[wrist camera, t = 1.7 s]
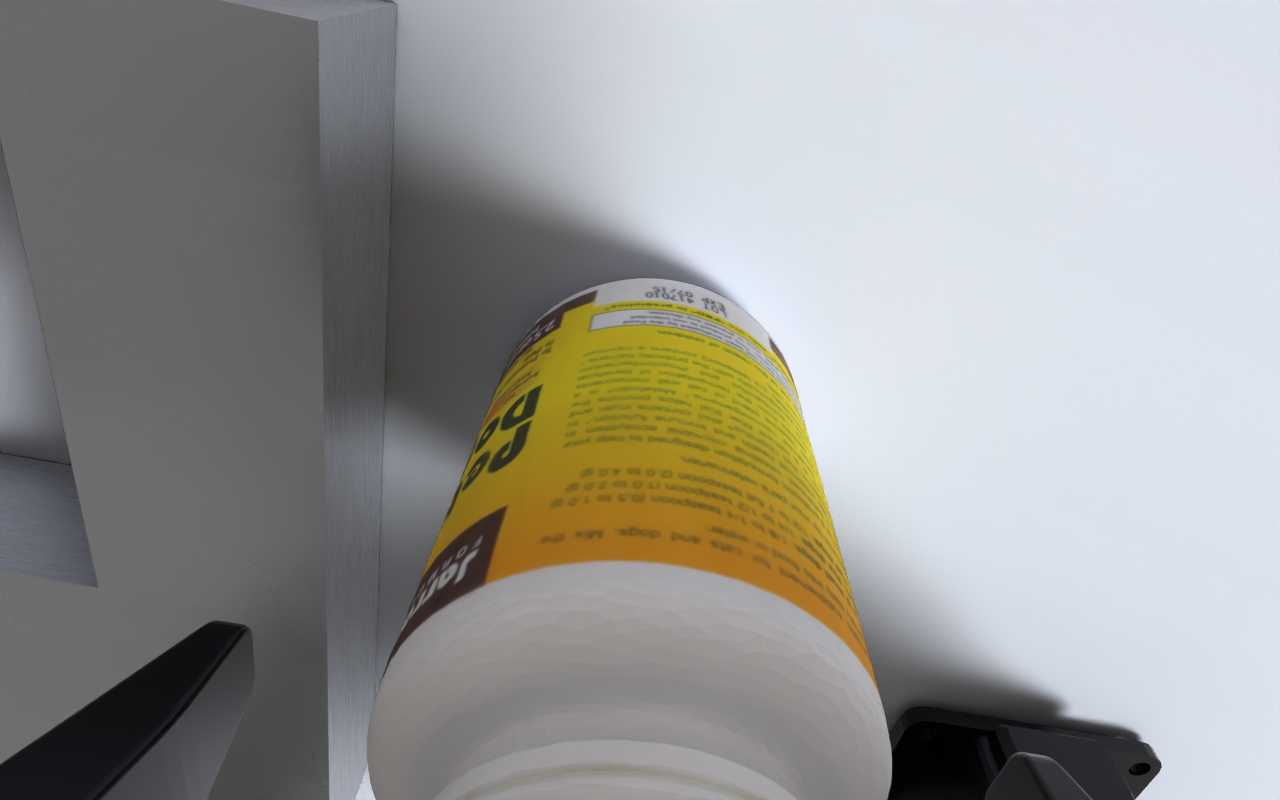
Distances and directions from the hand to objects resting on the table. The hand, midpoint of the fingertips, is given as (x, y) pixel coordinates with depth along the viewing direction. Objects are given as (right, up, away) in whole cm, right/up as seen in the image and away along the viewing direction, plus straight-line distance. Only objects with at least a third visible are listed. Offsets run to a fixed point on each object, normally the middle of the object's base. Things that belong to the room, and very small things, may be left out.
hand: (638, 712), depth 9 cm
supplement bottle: (0, +4, +6) cm, 7 cm away
